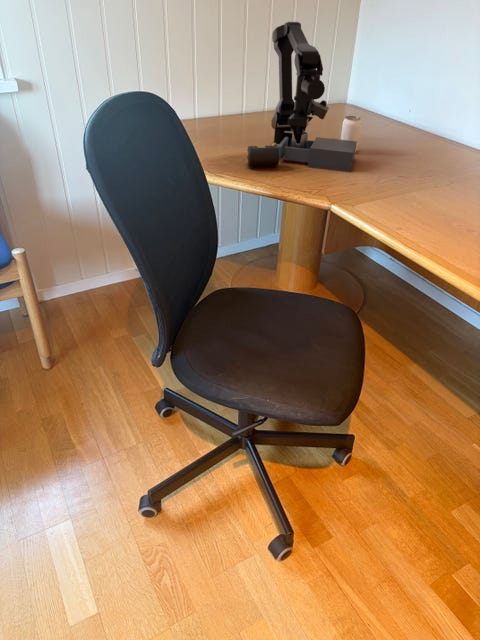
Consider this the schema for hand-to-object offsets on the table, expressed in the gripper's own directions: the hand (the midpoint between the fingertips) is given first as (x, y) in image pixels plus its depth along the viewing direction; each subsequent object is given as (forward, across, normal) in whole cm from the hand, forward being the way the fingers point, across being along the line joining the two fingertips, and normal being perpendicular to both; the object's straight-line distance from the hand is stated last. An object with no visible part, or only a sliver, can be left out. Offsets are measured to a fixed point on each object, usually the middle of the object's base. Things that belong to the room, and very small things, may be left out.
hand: (299, 141), depth 171 cm
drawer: (+5, 0, +2) cm, 6 cm away
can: (+6, +16, -16) cm, 24 cm away
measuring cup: (+4, 0, +2) cm, 5 cm away
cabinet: (+6, 0, -12) cm, 14 cm away
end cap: (+6, -13, +10) cm, 18 cm away
